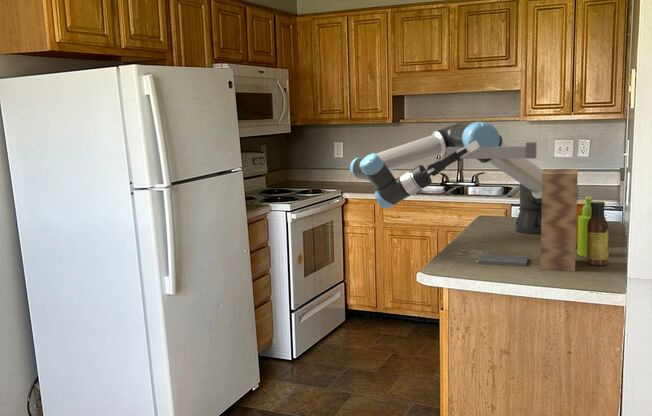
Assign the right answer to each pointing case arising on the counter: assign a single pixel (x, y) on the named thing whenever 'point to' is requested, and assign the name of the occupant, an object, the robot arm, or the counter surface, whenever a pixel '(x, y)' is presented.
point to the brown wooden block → (558, 219)
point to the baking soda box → (579, 212)
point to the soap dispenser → (583, 227)
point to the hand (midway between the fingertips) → (476, 144)
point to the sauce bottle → (597, 235)
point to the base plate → (503, 260)
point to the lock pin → (499, 152)
